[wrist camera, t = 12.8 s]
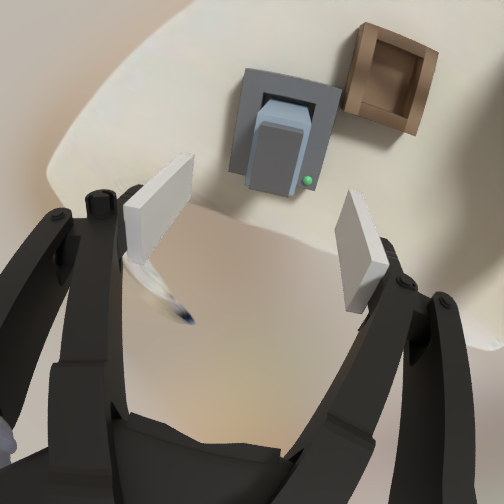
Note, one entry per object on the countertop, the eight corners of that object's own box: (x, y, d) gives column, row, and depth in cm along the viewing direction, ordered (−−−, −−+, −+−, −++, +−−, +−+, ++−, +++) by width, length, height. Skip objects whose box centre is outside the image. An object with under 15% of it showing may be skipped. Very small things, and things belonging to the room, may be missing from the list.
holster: (359, 25, 23) (365, 21, 21) (428, 52, 23) (438, 52, 21) (340, 107, 30) (344, 111, 27) (406, 130, 29) (415, 136, 27)
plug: (271, 97, 30) (254, 116, 19) (307, 105, 30) (312, 129, 19) (261, 146, 33) (240, 193, 22) (295, 154, 33) (292, 204, 22)
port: (249, 68, 28) (244, 68, 26) (338, 87, 28) (342, 89, 26) (233, 163, 36) (227, 172, 33) (313, 181, 35) (314, 192, 33)
